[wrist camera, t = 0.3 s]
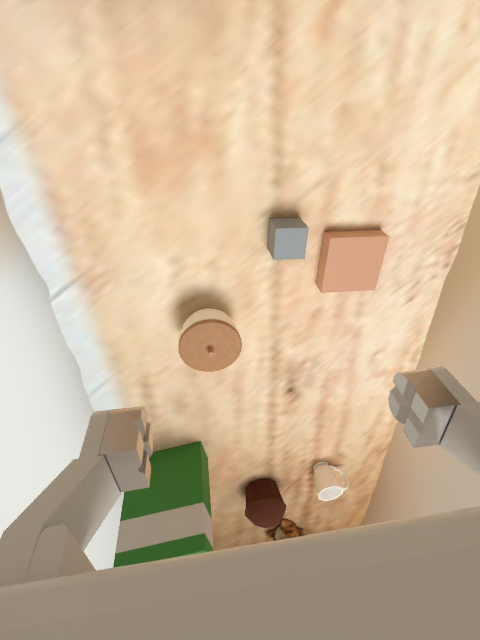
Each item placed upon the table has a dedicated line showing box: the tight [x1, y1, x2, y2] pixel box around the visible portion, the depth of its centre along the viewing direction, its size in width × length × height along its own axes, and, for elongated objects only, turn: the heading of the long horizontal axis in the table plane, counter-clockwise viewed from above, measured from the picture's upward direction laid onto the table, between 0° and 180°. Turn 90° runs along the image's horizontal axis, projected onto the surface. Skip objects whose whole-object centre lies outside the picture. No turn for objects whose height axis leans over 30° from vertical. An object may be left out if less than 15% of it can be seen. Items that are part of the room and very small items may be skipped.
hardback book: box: [113, 441, 213, 568], centre depth 77 cm, size 18×7×24 cm, turn 100°
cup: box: [313, 461, 349, 501], centre depth 94 cm, size 7×10×8 cm
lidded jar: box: [179, 308, 242, 372], centre depth 61 cm, size 11×11×9 cm
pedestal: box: [316, 230, 389, 293], centre depth 60 cm, size 10×10×3 cm
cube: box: [267, 217, 308, 260], centre depth 55 cm, size 5×5×5 cm
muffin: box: [245, 479, 286, 528], centre depth 95 cm, size 12×11×10 cm
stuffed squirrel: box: [266, 519, 305, 541], centre depth 110 cm, size 10×14×13 cm
